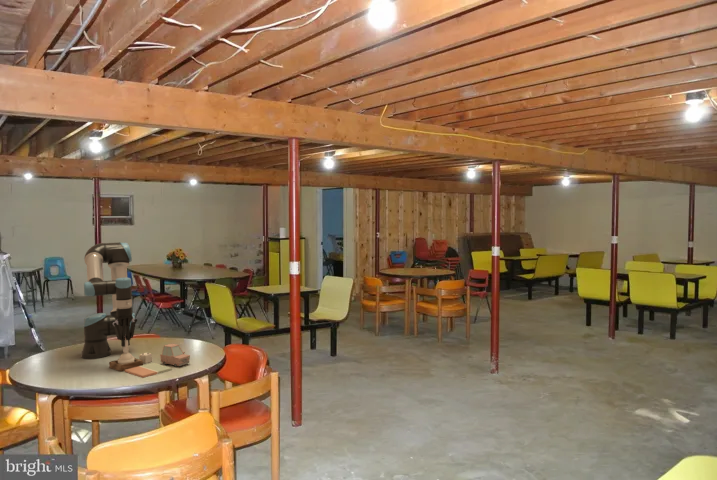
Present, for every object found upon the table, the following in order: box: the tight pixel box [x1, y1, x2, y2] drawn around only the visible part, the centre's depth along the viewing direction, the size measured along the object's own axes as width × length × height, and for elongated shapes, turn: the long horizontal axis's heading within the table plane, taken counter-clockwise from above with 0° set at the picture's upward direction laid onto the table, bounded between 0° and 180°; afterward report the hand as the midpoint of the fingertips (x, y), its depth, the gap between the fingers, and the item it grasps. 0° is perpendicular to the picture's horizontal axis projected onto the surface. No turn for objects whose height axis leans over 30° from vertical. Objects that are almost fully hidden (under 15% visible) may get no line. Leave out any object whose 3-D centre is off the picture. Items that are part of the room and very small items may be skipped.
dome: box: [117, 352, 135, 365], centre depth 284 cm, size 8×8×7 cm
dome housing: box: [108, 357, 144, 372], centre depth 285 cm, size 12×12×3 cm
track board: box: [124, 362, 173, 378], centre depth 277 cm, size 17×16×1 cm
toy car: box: [159, 343, 191, 368], centre depth 289 cm, size 9×15×10 cm, turn 60°
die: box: [138, 352, 153, 365], centre depth 293 cm, size 4×4×5 cm
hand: (125, 352), depth 284 cm, fingers closed
